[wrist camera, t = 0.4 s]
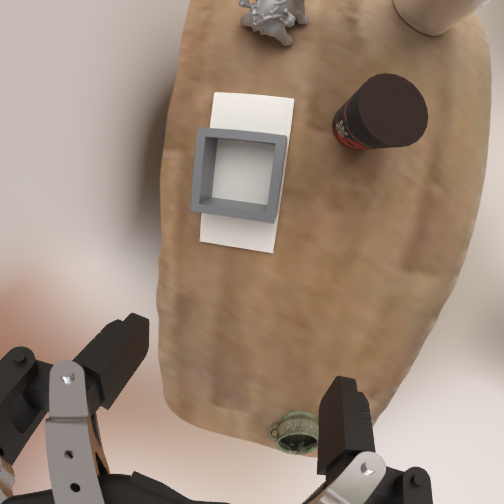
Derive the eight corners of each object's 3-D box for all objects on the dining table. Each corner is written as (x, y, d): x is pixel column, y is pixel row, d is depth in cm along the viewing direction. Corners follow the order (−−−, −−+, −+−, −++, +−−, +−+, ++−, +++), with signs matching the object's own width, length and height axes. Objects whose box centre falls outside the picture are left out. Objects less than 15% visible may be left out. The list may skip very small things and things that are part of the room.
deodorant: (322, 121, 31) (341, 98, 17) (357, 96, 29) (395, 61, 15) (352, 159, 32) (390, 161, 18) (386, 133, 30) (440, 122, 16)
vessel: (270, 431, 51) (267, 453, 46) (270, 407, 49) (266, 432, 43) (325, 432, 49) (326, 454, 44) (331, 408, 47) (332, 433, 41)
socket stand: (216, 93, 32) (201, 83, 26) (294, 100, 31) (293, 89, 25) (202, 239, 39) (186, 253, 33) (273, 250, 38) (269, 267, 32)
